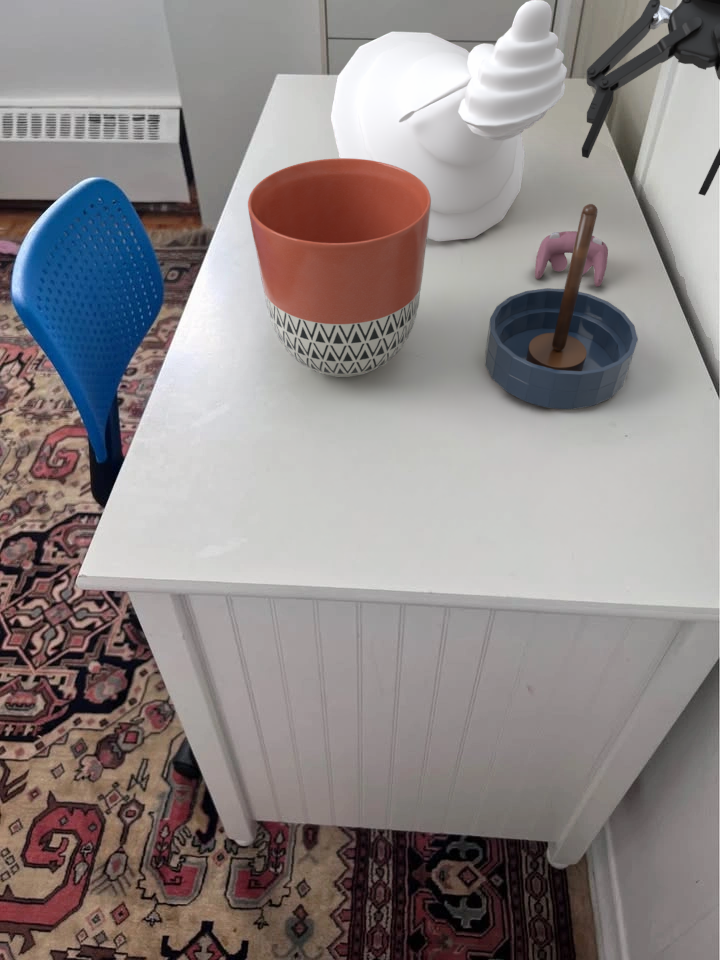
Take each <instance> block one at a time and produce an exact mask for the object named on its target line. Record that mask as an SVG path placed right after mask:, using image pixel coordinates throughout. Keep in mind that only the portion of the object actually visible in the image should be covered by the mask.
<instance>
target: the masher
mask: <svg viewBox="0 0 720 960" xmlns="http://www.w3.org/2000/svg"><path fill="white" fill-rule="evenodd" d="M598 213H599V211H598V207H597V206H596V204H593V203H587V204H586V205H584V207H583V208H582V209H581V212H580V217H579V221H578V222H579V223H578V227H577V230H576V232H577V235H576V240H575V244H574V249H573V253H571V258H570V262H569V267H568V271H567V276H566V281H565V285H564V288H563V289H564V293H563V297H562V302H561V306H560V311H559V315H558V320H557V324H556V329H555V333H545V334H541V335H538V336H536V337H535V338H533V339H532V340H531V342H530V344H529V348H528V353H527V358H526V360H527V361H529V362H531V363H533V364H536V365H539V366H543V367H547V368H551V369H555V370H566V371H582V369H583V366H584V362H585V359H586V354H587V352H586V348H585V346H584V345H583V344H582V343H581V342H580V341H579V340H577V339H576V338H574V337H572V336H569V335H568V333H569V329H570V325H571V320H572V316H573V312H574V308H575V304H576V300H577V296H578V292H580V287H581V282H582V279H583V275H584V274H583V271H584V267H585V263H586V259H587V254H588V250H589V246H590V242H591V238H592V236H593V234H594V230H595V225H596V221H597V218H598Z"/></svg>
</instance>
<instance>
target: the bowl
mask: <svg viewBox="0 0 720 960" xmlns="http://www.w3.org/2000/svg"><path fill="white" fill-rule="evenodd" d="M564 289H565V288H551V287H550V288H549V287H547V288H537V289H530V290H525V291H522V292H519V293H517V294H513V295H512V296H509V297H508V298H506V299H504V300H503V301H502V302H501V303H499V304H497V305H496V308H495V309H494V310H493V312H492V314H491V315H490V317H489V324H488V329H487V330H488V331H487V337H486V344H485V349H484V350H485V351H484V356H485V357H484V358H485V359H484V362H485V364H484V365H485V367H486V369H487V371H488V374H489V375H490V377H491V379H492V380H493V381H494V382H495V383H496V384H497V385H499V386H500V388H502V389H503V390H504V391H505V392H506V393H508V394H510V395H512V396H513V397H516V398H517V399H519V400H522V401H523V402H526V403H528V404H531V405H534V406H537V407H538V406H539V407H542V408H548V409H555V410H575V409H576V410H577V409H582V408H588V407H593V406H596V405H599V404H601V403H603V402H605V401H607V400H609V399H610V400H611V398H613V397H614V396H615V395H616V394H617V392H619V391H620V390H621V389H622V388H623V386H624V383H625V381H626V377H627V375H628V371H629V368H630V365H631V362H632V359H633V356H634V353H635V350H636V347H637V343H638V334H637V330H636V326H635V324H634V323H633V322H632V321H631V320H630V318H629V317H628V316H627V314H626V313H625V312H624V311H622V310H621V309H619V308H618V307H616V305H614V304H612V303H611V302H609V301H607V300H605V299H602V298H600V297H597V296H595V295H593V294H590V293H587V292H582V291H579V292H578V296H577V300H576V304H575V308H574V312H573V316H572V320H571V325H570V329H569V333H568V335H569V336H572V337H574V338H576V339H577V340H579V341H580V342H581V343H582V344H583V345H584V346H585V348H586V352H587V354H586V359H585V362H584V366H583V369H582V371H566V370H555V369H551V368H547V367H543V366H539V365H536V364H533V363H531V362H529V361H527V360H526V358H527V353H528V348H529V344H530V342H531V340H532V339H533V338H535V337H536V336H538V335H541V334H545V333H555V329H556V324H557V320H558V315H559V311H560V306H561V302H562V297H563V293H564Z"/></svg>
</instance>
